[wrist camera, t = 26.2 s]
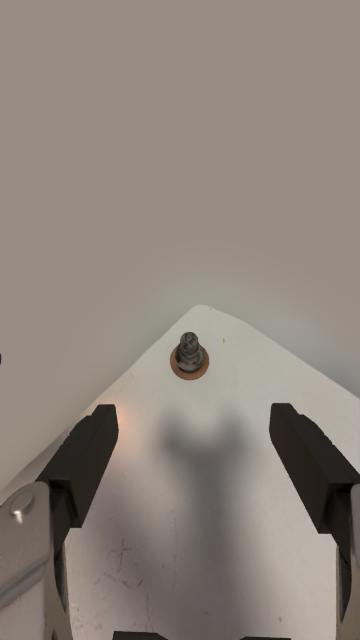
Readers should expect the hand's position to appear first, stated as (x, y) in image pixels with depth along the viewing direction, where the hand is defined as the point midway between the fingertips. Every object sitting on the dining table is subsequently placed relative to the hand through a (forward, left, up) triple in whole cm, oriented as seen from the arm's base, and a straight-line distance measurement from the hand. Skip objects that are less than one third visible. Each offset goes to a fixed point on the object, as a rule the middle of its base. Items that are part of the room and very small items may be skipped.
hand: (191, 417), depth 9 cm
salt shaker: (-6, +10, -26) cm, 29 cm away
